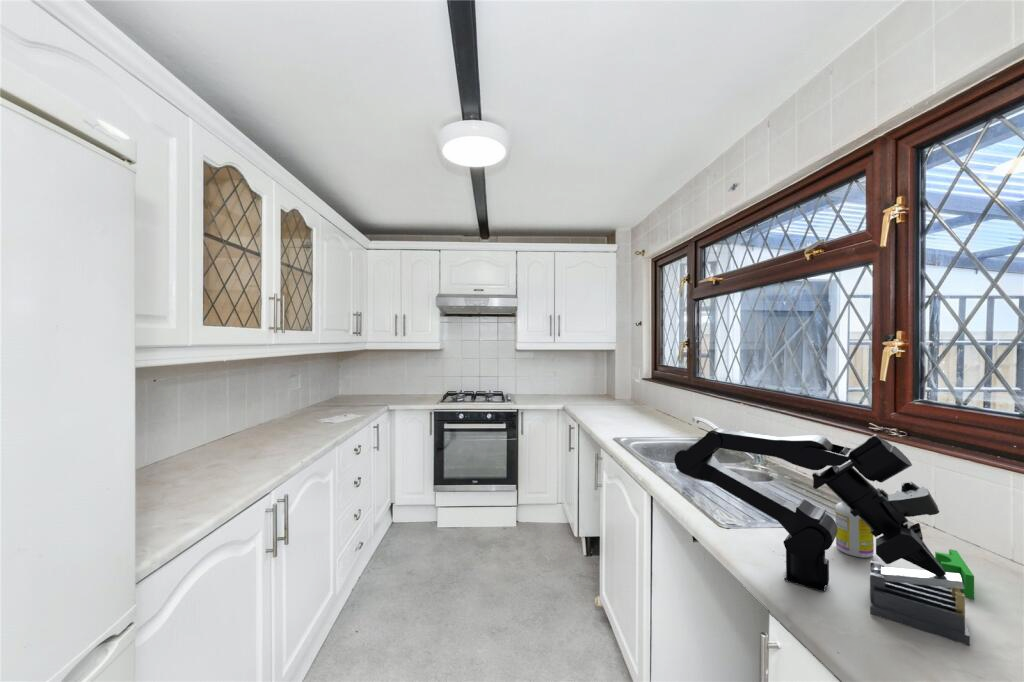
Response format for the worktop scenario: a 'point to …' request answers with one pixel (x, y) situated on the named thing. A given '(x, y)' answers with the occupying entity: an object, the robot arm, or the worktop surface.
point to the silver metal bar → (918, 577)
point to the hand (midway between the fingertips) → (943, 575)
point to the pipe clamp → (957, 570)
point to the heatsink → (920, 606)
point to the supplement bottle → (852, 533)
